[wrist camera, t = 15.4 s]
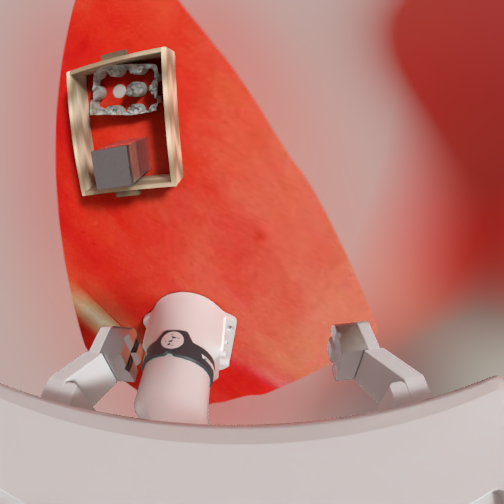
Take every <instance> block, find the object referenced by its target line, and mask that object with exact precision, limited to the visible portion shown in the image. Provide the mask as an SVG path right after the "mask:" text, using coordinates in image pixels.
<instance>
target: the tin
mask: <svg viewBox="0 0 504 504" xmlns="http://www.w3.org/2000/svg"><path fill="white" fill-rule="evenodd" d="M91 156H92V163H93V169H94V174H95V180H96V185H97V190H100V189H107V188H115V187H124V186H132V185H133V184H134V182H136V181H137V180H138V179H139V178H140V177H141V176H143V175H144V174H145V173H146V172H147V171H149V170H150V169H151V163H150V155H149V147H148V137H141V138H134V139H128V140H122V141H117V142H114V143H112V144H110V145H107V146H105V147H102V148H100V149H97V150H93V151H91Z"/></svg>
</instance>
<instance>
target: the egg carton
mask: <svg viewBox="0 0 504 504" xmlns="http://www.w3.org/2000/svg"><path fill="white" fill-rule="evenodd" d="M149 68H151V69H152V70H153V71H154V72H155V74H154V78H155V80H153V81H152V84H151V85H150V86H149V91H150V92H151V94H152V95H154V98H156V99H157V103H155V104H152V105H151V106H150V108H149V110H146V107H145V106H144V105H143V104H131V106H130V107H129V108H128V110H127V112H126V110H125V108H124V107H123V106H121V105H115V106H109V107H107V108H106V109H104V108H103V107H100V100H102V99H104V98H105V96H106V89H105V87H103V86H100V84H101V80H102V79H104V78H105V77H106V75H107V72H108V74H109V75H110V76H112V77H122V76H124V75H125V74H126V73H127V70H129V71H130V74H134V75H144V74H146V73H147V71H148V70H149ZM160 81H162V74H161V73H158V69H157V65H156V64H124V65H111V66H107V67H103V68H100V69H98V70H96V71H95V72H94V77H93V88H92V91H93V99H92V100H91V104H90V112H89V115H135V114H142V113H147V112H152V111H157V109H156V107H157V105H158V103H161V101H162V96H159V95H157V93H158V90H157V86H158V82H160ZM147 90H148V89H147V85H146V84H145V83H144V82H138V81H136V82H132V83H131V84H129V85H128V86H127V90H126V87H125V86H124V85H122V84H118V85H116V86H115V87H114V89H113V95H114V97H116V98H122V97H123V96H124V95H125V93H126V95H127V96H132V97H141V96H144V95H145V94H146V92H147Z"/></svg>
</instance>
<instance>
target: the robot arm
mask: <svg viewBox="0 0 504 504" xmlns="http://www.w3.org/2000/svg"><path fill="white" fill-rule="evenodd" d="M143 324H144V325H145V327H146V332H145V336H144V340H143V344H142V345H141V343H140V341H139V340H137V339H136V337H137V332H136V330H135V329H134V328H127V327H116V326H102V327H101V328H100V330H99V332H98V334H97V336H96V338H95V340H94V342H93V344H92V346H91V348H90V350H89V352H88V351H86V352H84V353H83V354H82V355H80V356H79V357H77V358H76V359H75V360H73V361H72V362H70V363H69V364H68V365H66V366H65V367H63V368H62V369H61V370H59V371H58V372H57V373H55V374H54V375H52V376H51V377H50V378H49V380H48V383H47V384H46V387H45V389H44V391H43V393H42V395H41V397H38V396H35V395H32V394H29V393H26V392H23V391H19V390H17V389H14V388H11V387H9V386H6V385H3V384H1V383H0V504H504V378H502V377H500V376H492V377H489V378H487V379H484V380H482V381H479V382H477V383H474V384H471V385H468V386H466V387H463V388H460V389H457V390H454V391H451V392H448V393H445V394H441V395H438V396H435V397H433V396H432V394H431V392H430V390H429V387H428V385H427V383H426V381H425V379H424V377H423V375H422V374H420V373H419V372H417V371H416V370H414V369H413V368H412V367H410V366H409V365H407V364H406V363H404V362H403V361H401V360H400V359H399V358H397V357H396V356H394V355H393V354H391V353H390V352H388V351H387V350H386V349H384V348H380V347H379V345H378V342H377V340H376V338H375V335H374V333H373V331H372V329H371V327H370V324H369V322H368V321H361V322H352V323H342V324H333V325H332V327H331V331H330V332H331V335H332V336H331V337H330V338H329V341H328V356H329V360H330V361H331V362H332V363H333V366H332V371H333V375H334V379H335V381H339V380H349V379H354V380H355V381H356V382H357V383H358V384H359V385H360V386H361V387H362V388H363V389H364V390H365V391H366V392H367V393H368V394H369V395H370V396H371V397H372V398H373V399H374V400H375V401H376V402H377V403H378V404H379V407H378V408H377V410H376V411H374V412H369V413H364V414H358V415H352V416H345V417H339V418H331V419H324V420H315V421H306V422H295V423H280V424H260V425H211V424H209V419H208V407H209V391H210V387H211V386H212V383H213V381H214V380H216V379H217V378H218V375H219V370H222V369H225V368H227V367H228V366H229V362H230V357H231V352H232V346H233V341H234V335H235V330H236V324H237V319H236V318H235V317H234V316H232V315H230V314H228V313H226V312H224V311H222V310H221V309H220V308H219V307H218V306H217V305H216V304H215V303H214V302H212V301H211V300H209V299H208V298H206V297H204V296H201V295H198V294H195V293H189V292H177V293H172V294H169V295H166V296H164V297H163V298H161V299H160V300H159V301H158V302H157V303H156V305H155V307H154V309H153V310H152V312H150V313H148V314H147V315H145V316H144V319H143ZM142 347H143V349H144V351H145V352H146V354H145V355H144V358H143V365H142V371H143V374H142V377H141V380H140V384H139V388H138V391H137V395H136V398H135V402H134V408H135V412H136V414H137V416H138V417H139V418H133V417H125V416H120V415H114V414H108V413H103V412H98V411H95V409H94V408H93V406H94V405H95V404H96V403H97V402H98V401H99V400H100V399H101V398H102V397H103V396H104V395H105V393H107V392H108V391H109V390H110V389H111V388H112V387H113V386H114V384H115V383H117V381H126V382H135V379H136V376H137V373H138V369H137V367H136V366H137V365H138V364H139V363H141V360H142V352H143V351H142Z"/></svg>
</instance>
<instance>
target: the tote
mask: <svg viewBox="0 0 504 504" xmlns="http://www.w3.org/2000/svg"><path fill="white" fill-rule="evenodd" d="M158 58H161V62H162V83H163V100H164V114H165V126H166V137H167V148H168V158H169V167H170V174H162V175H151V176H142V177H140V178H139V179H138V180H137V181H136V182H134V184H133V185H132V186H124V187H115V188H107V189H100V190H97V185H96V180H95V174H94V169H93V163H92V156H91V151H93V150H94V148H93V140H92V133H91V124H90V115H89V104H88V91H87V75H90V74H94V72H95V71H96V70H98V69H100V68H103V67H107V66H111V65H124V64H133V63H138V62H142V61H147V60H153V59H158ZM66 75H67V93H68V105H69V116H70V125H71V133H72V141H73V148H74V154H75V160H76V166H77V172H78V177H79V182H80V187H81V192H82V196H87V195H95V194H103V193H111V192H115V193H116V197H124V196H134V195H139V194H140V193H141V190H140V189H149V188H160V187H172V186H177V184H178V183H179V182H180V180H181V179H182V178H183V177H184V176H183V166H182V156H181V144H180V133H179V120H178V105H177V89H176V69H175V52H174V51H172V50H171V49H169V48H167V47H161V48H155V49H150V50H145V51H140V52H136V53H131V54H128V53H127V50H125V49H124V50H120V51H116V52H113V53H109V54H105V55H102V56H101V61H100V62H97V63H93V64H90V65H87V66H84V67H81V68H78V69H75V70H72V71H69V72H66Z"/></svg>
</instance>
